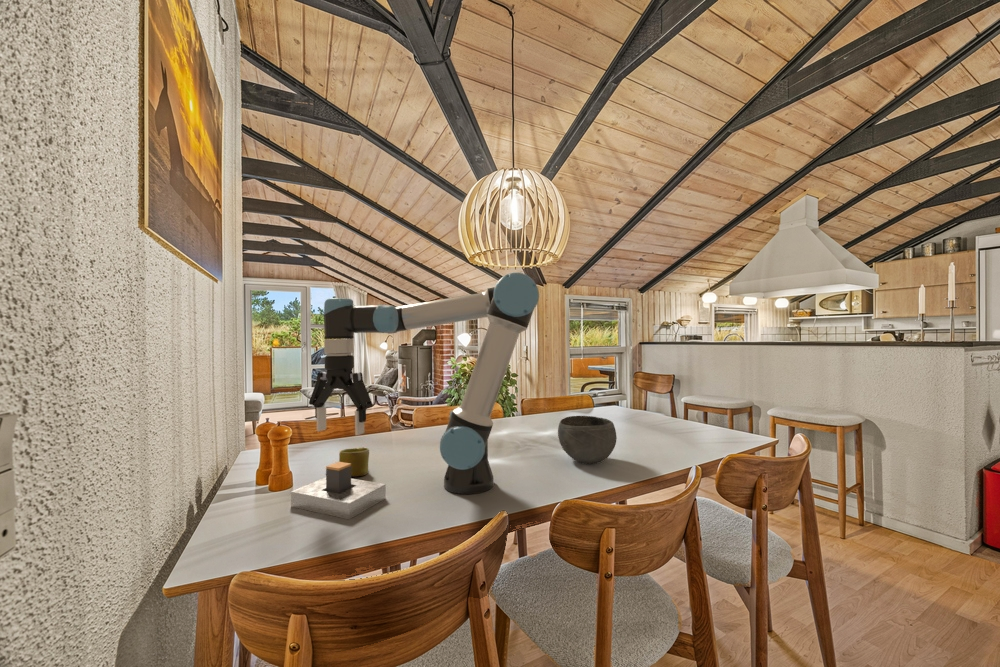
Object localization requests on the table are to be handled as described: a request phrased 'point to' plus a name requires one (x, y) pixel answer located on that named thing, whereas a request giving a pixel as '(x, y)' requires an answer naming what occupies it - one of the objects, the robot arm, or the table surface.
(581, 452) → the bowl
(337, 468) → the plug
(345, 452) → the mug
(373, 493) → the socket plate
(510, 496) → the table surface
